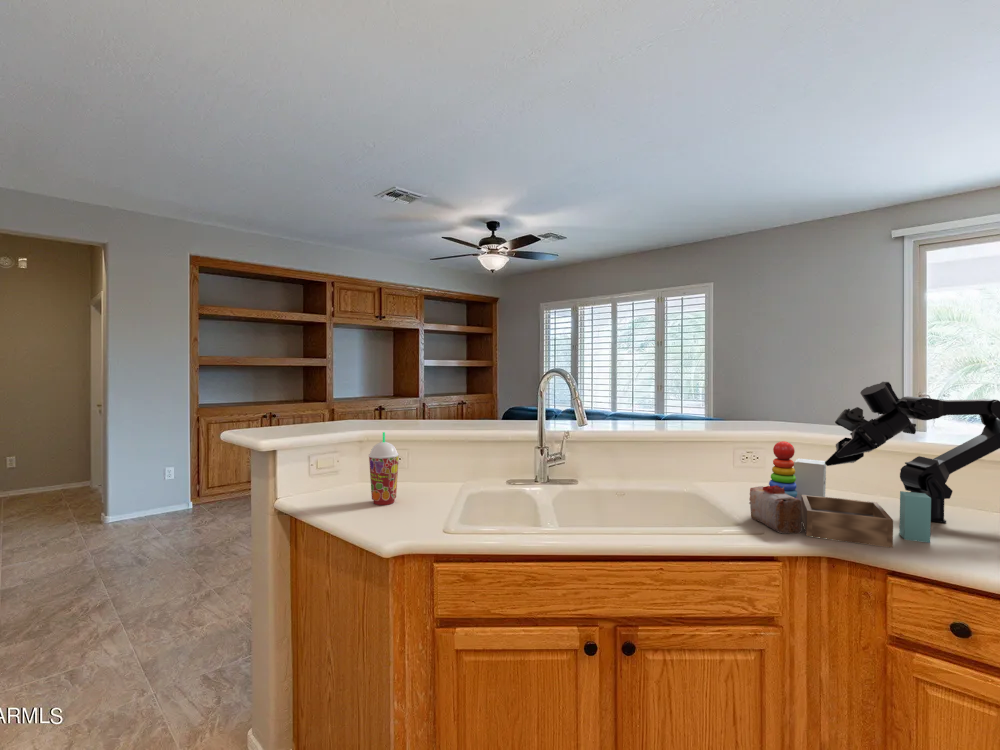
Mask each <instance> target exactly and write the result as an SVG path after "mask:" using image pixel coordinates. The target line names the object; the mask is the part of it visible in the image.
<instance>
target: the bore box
mask: <svg viewBox="0 0 1000 750" xmlns="http://www.w3.org/2000/svg"><path fill="white" fill-rule="evenodd" d="M801 501H802V505H801V506H802V522H803V523H802V526H803V525H804V526H803V528H805V529H804V531H806V532H805V536H806V537H807V536H813V537H812V538H815V537H820V538H819V539H822V538H827V539H826V540H830V539H833V541H838V540H839V541H840V542H845V541H847V542H846V543H855V544H863V545H870V546H876V547H884V548H892V549H893V547H894V545H893V541H894V519H893V518H892V517H891V516H890V515H889V514H888V513H887V512H886V510H885V509H884V508H883V507H882V506H881V505H880V504H879V502H877V501H870V500H858V499H848V498H840V497H839V498H837V497H828V496H827V497H826V496H825V497H820V496H810V495H801Z"/></svg>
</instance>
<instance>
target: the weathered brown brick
mask: <svg viewBox="0 0 1000 750" xmlns="http://www.w3.org/2000/svg"><path fill="white" fill-rule="evenodd" d="M784 487H785V486H784ZM784 487H783V488H781V487H779V486H777V485H776V486H770V485H767V486H761V485H760V486H755V487H750V488H749V503H748V504H749V505H750V506H749V508H750V518H751V519H752V520H755V521H757V522H760V523H761V524H763V525H765V526H766V527H769V528H770V529H772V530H774V531H776V532H778V533H780V534H782V533H783V534H800V533H801V532H802V530H803V523H802V506H801V505H802V501H801V500H799V499H797V498H794V497H792V496H790V495H788V494H786V493H785V491H784ZM799 532H800V533H799Z"/></svg>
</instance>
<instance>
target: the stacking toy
mask: <svg viewBox="0 0 1000 750" xmlns="http://www.w3.org/2000/svg"><path fill="white" fill-rule="evenodd" d="M772 451H773V454H774V456H775V457H776V458H774V459H773V460H772V463H773V464H772V465H774V466H773V467H772V468H771V470H772V473H771V474H770V480H769V482H768V486H776V485H777V486H779V487H781V488H783V487H784V486H785V487H784V491H785V493H786V494H788V495H790V496H792V497H794V498H797V497H796V496H797V491H796V490H795V489H796V487H797V486H796V483H795V481H796V477H795V476H794V474H795V469H794V462H795V461H793V459H792V458H793V457H794V455H795V453H796V451H795V448H794V446H793V445H792V444H791V443H790V442H788V441H784V440H783V441H778V442H776V443H775V444H774V446H773V449H772ZM797 499H798V498H797Z"/></svg>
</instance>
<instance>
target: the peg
mask: <svg viewBox="0 0 1000 750" xmlns="http://www.w3.org/2000/svg"><path fill="white" fill-rule="evenodd" d="M931 522H932V521H931V498H930V497H929V496H928V495H926V494H925V493H915V492H911V491H903V490H900V492H899V533H898V534H899V535H900V537H902V538H903V540H904V539H905V541H913V542H914V541H915V542H923V543H930V544H931V529H932V528H931V526H932V525H931Z"/></svg>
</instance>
